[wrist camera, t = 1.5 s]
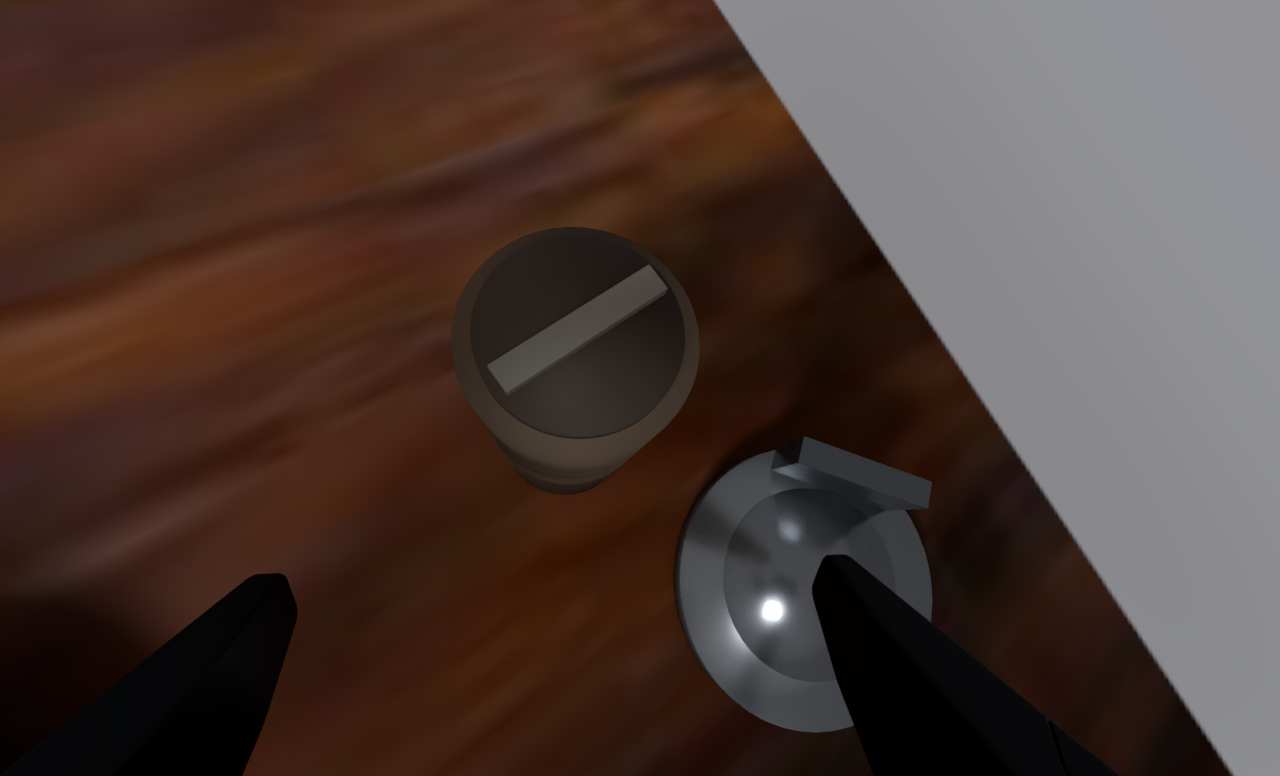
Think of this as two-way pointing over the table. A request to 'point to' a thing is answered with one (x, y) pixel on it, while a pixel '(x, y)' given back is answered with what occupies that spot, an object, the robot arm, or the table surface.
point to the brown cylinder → (574, 353)
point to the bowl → (791, 571)
